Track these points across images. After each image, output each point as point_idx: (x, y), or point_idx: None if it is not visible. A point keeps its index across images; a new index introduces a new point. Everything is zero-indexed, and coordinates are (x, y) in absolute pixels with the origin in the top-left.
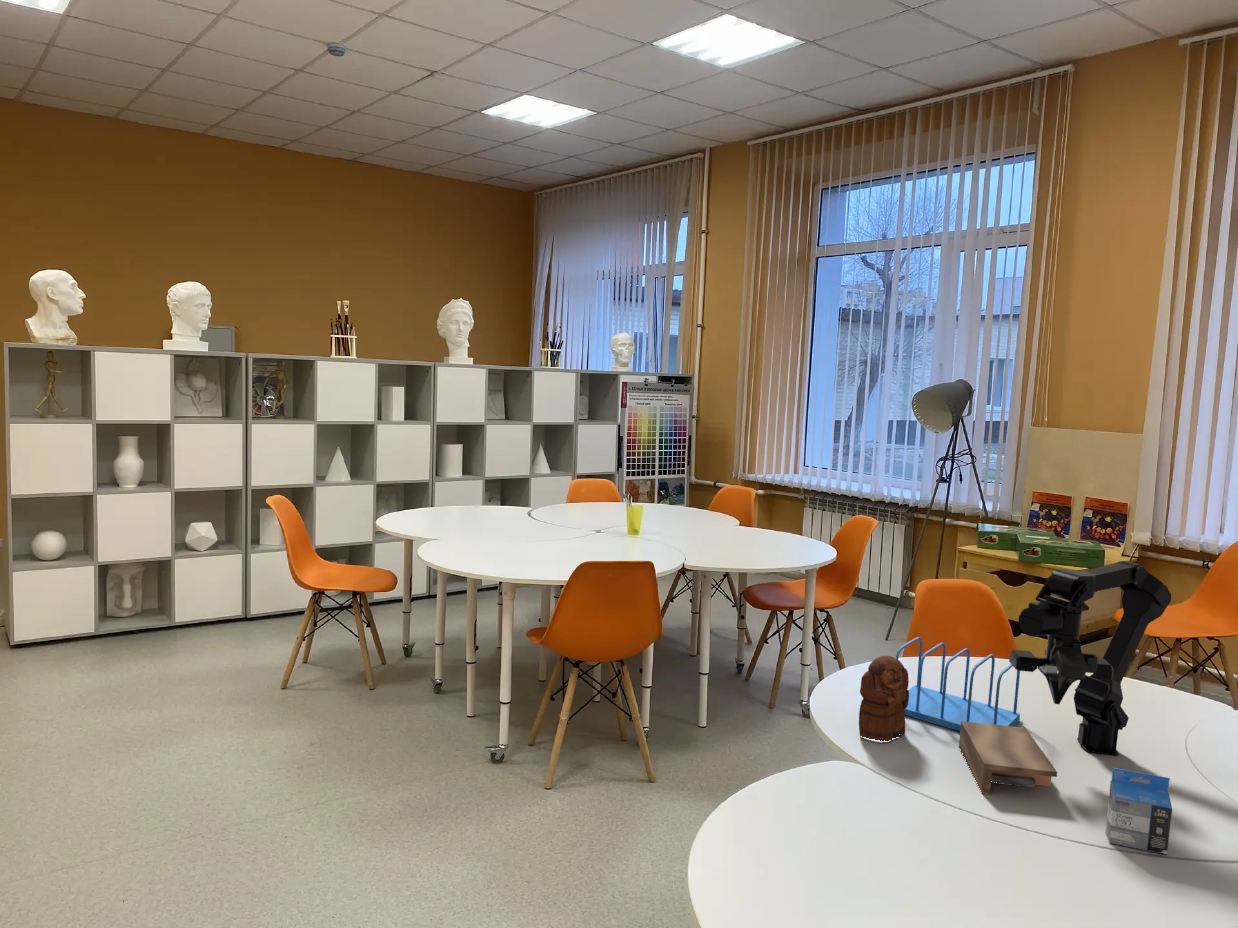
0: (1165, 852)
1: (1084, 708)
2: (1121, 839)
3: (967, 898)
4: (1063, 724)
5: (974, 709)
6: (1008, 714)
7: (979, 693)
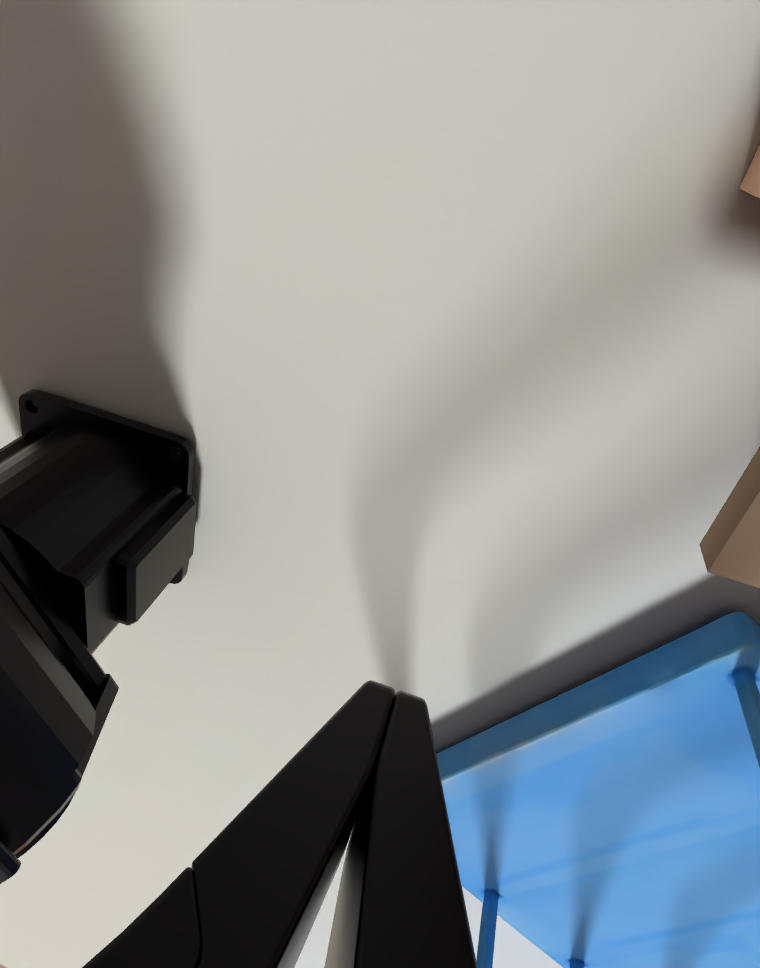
0: None
1: (45, 669)
2: None
3: None
4: (181, 708)
5: (610, 893)
6: None
7: None
